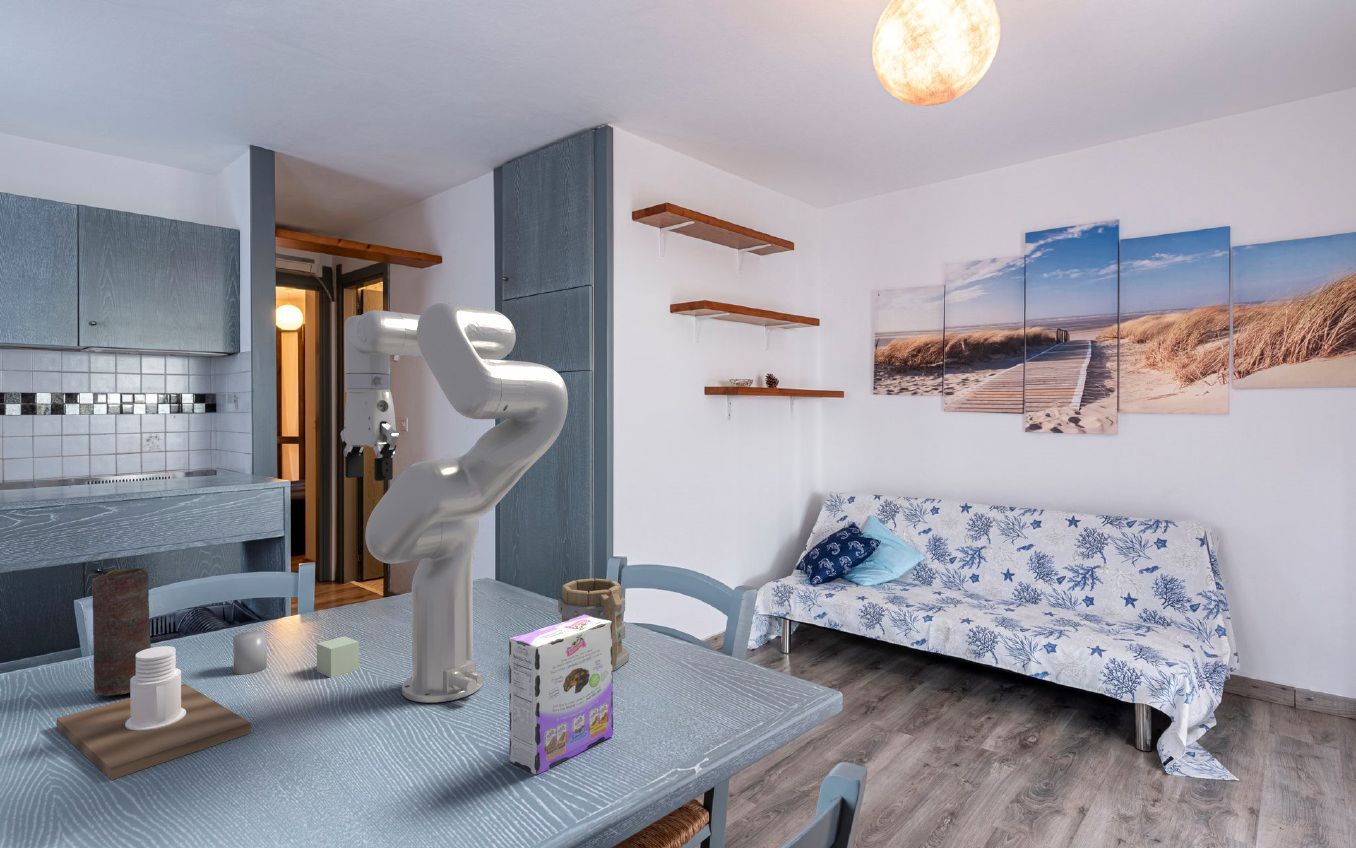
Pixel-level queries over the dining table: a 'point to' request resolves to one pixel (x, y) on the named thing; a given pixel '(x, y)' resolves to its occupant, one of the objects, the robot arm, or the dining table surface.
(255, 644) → the grey rounded cylinder
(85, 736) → the walnut board
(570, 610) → the tankard
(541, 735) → the candy box
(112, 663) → the brown textured cylinder
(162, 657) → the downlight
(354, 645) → the sage block
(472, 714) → the dining table surface
